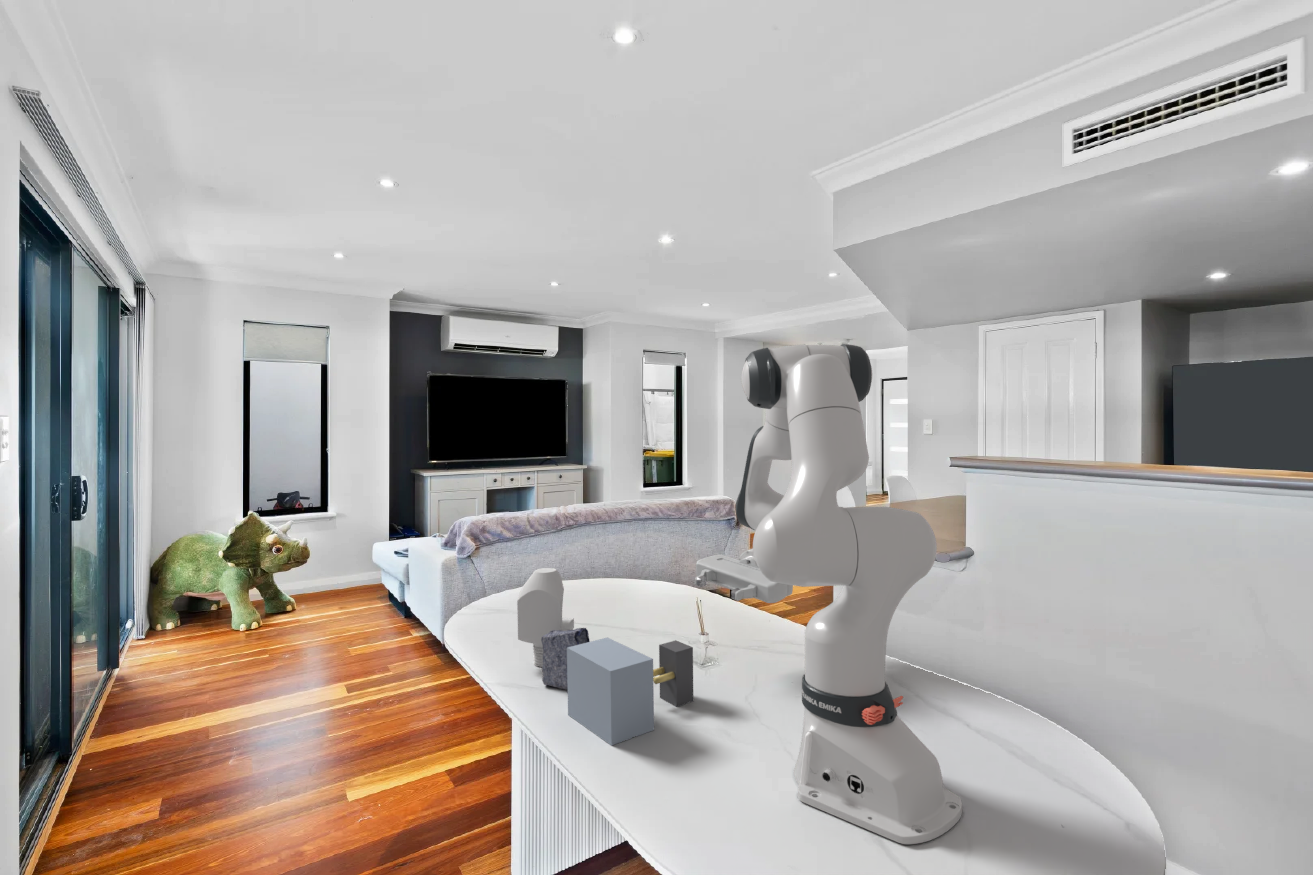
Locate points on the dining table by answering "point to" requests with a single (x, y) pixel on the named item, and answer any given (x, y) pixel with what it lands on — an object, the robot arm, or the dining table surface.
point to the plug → (675, 673)
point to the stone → (559, 654)
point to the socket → (610, 689)
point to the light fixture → (541, 609)
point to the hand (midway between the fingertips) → (715, 589)
